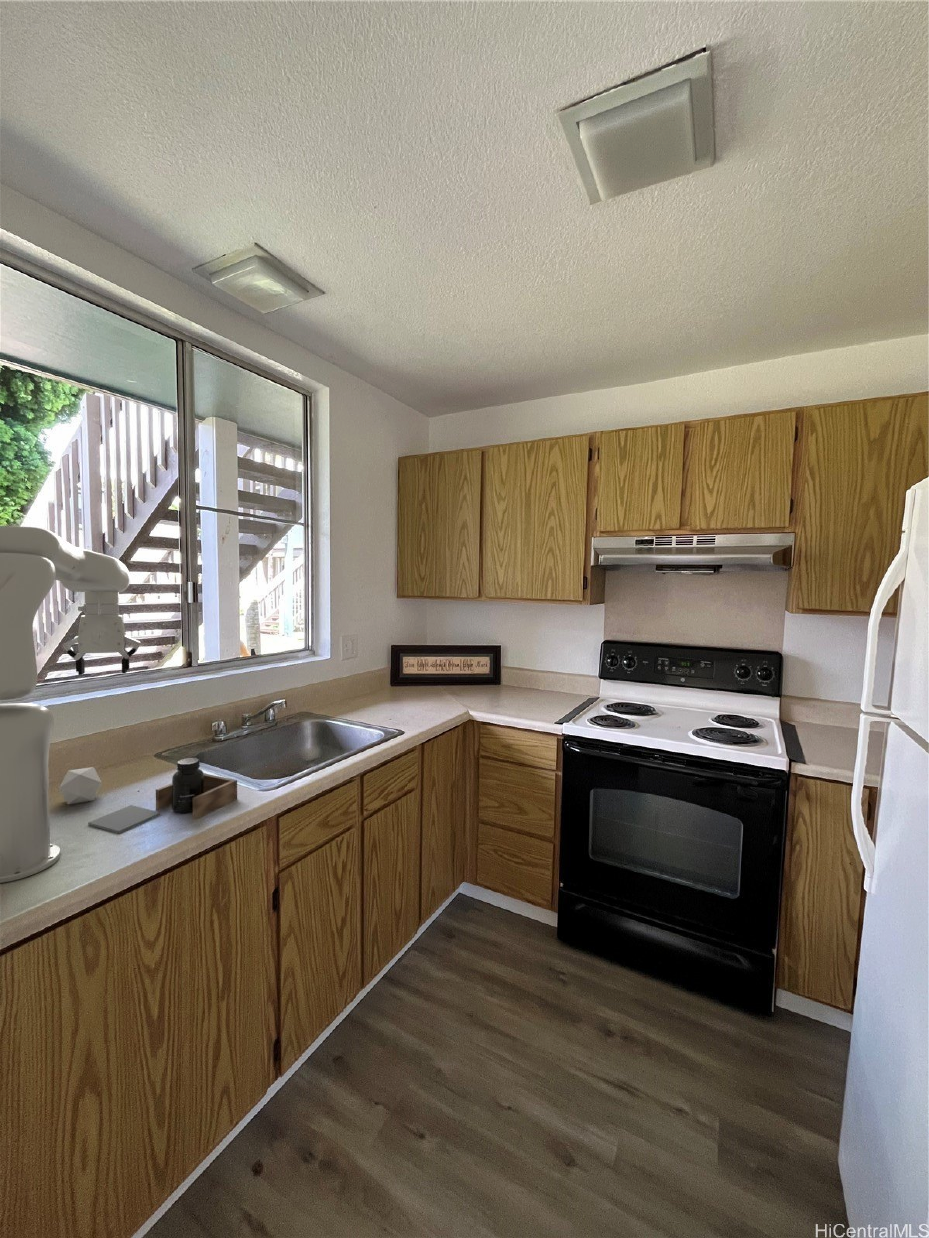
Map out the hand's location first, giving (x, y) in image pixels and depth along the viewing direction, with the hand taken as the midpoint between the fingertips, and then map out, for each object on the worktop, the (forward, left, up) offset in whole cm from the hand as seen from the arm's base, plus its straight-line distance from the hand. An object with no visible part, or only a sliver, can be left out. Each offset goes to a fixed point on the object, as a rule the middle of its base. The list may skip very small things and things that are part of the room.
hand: (103, 673), depth 137 cm
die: (-10, -6, -30) cm, 33 cm away
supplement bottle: (-3, -34, -30) cm, 46 cm away
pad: (-13, -26, -30) cm, 42 cm away
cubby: (0, -34, -30) cm, 46 cm away
